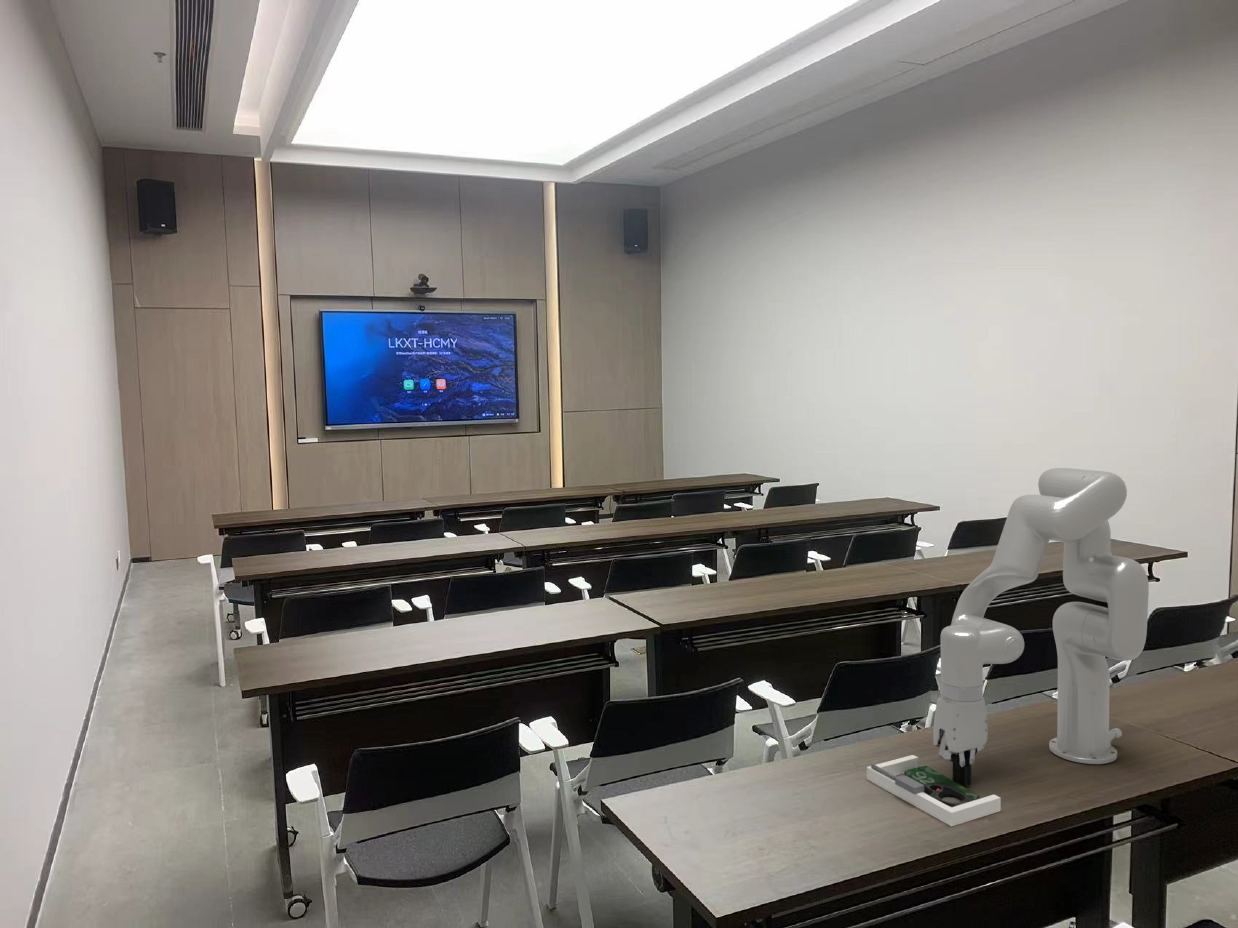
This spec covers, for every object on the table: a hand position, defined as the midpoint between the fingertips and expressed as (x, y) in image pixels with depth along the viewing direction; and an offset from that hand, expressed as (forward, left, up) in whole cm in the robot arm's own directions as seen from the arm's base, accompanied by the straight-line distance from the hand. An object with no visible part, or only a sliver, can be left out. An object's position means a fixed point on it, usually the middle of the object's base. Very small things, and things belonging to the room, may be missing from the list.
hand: (961, 782), depth 173 cm
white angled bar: (+8, 0, -1) cm, 8 cm away
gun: (+6, -1, -1) cm, 6 cm away
